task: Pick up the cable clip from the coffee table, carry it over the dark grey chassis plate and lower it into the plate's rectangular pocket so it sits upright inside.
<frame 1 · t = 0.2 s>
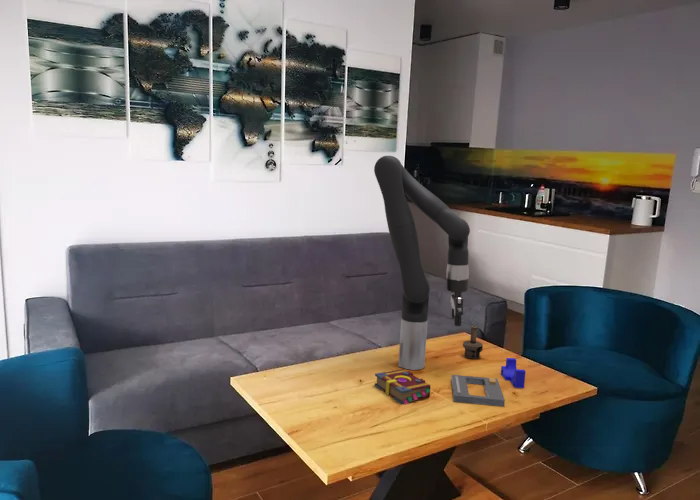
hand: (456, 322, 192), 17 cm above the table, fingers open, 8 cm apart
chassis: (476, 392, 176), on the table
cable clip: (511, 381, 187), on the table
decorative book: (402, 393, 174), on the table
industrial component: (470, 356, 209), on the table
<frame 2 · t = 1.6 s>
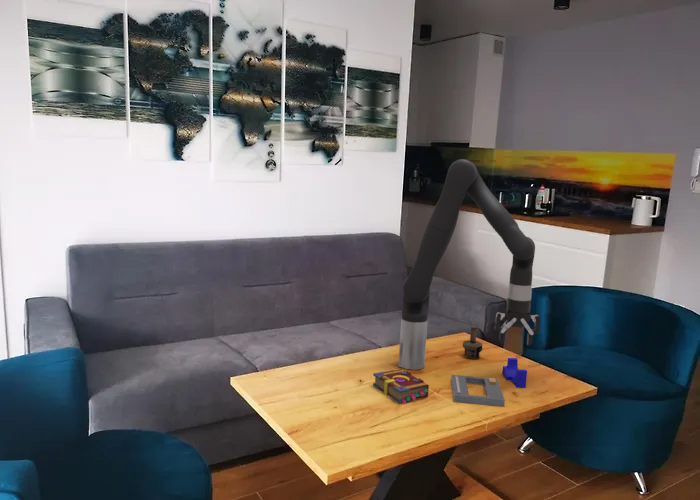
hand: (515, 343, 185), 13 cm above the table, fingers open, 8 cm apart
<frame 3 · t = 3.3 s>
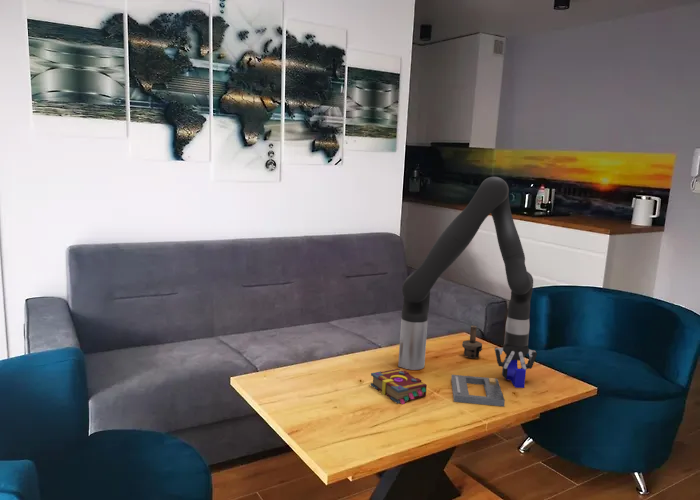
hand: (513, 378, 187), 1 cm above the table, fingers closed on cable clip, 4 cm apart
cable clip: (512, 380, 187), on the table, touching gripper
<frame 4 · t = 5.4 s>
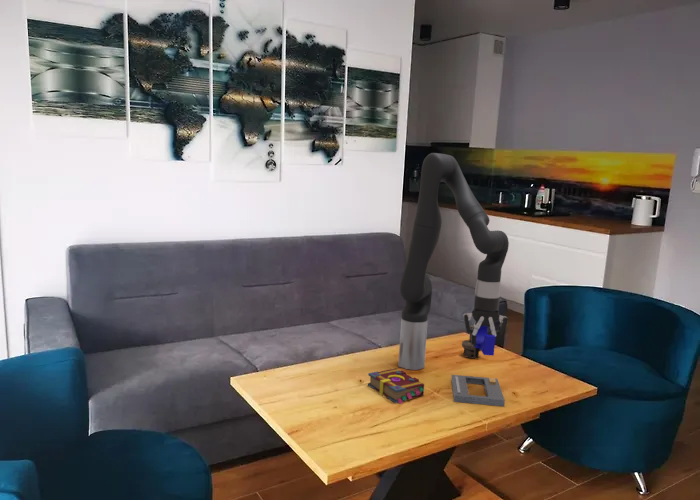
hand: (482, 346, 174), 15 cm above the table, fingers closed on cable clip, 4 cm apart
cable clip: (481, 348, 175), point 14 cm above the table, touching gripper
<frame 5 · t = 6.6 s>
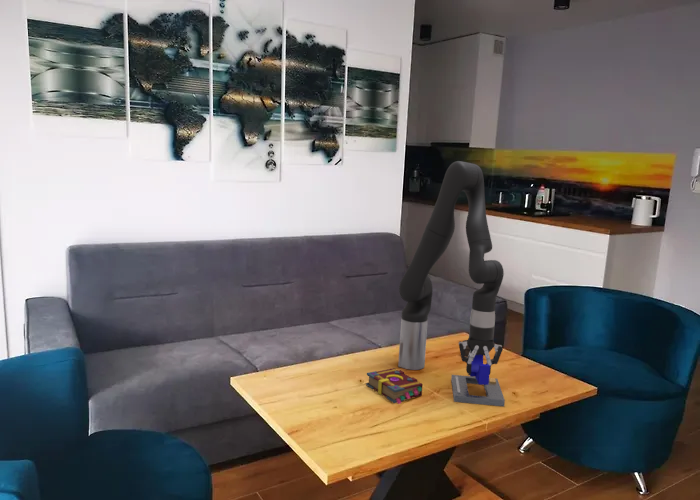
hand: (478, 374, 175), 6 cm above the table, fingers closed on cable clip, 4 cm apart
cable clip: (477, 377, 175), point 5 cm above the table, touching gripper
when the fingers open (3 cm above the table, at t = 7.6 s): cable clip drops 2 cm, resting in chassis.
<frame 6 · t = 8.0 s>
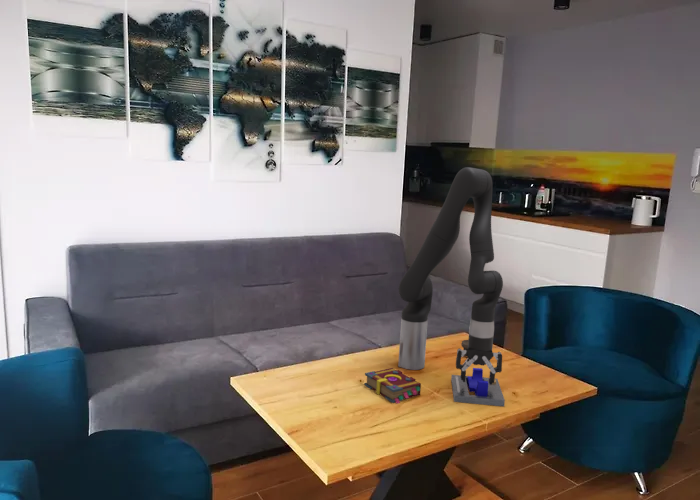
hand: (477, 382, 175), 3 cm above the table, fingers open, 8 cm apart
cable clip: (476, 393, 176), resting in chassis
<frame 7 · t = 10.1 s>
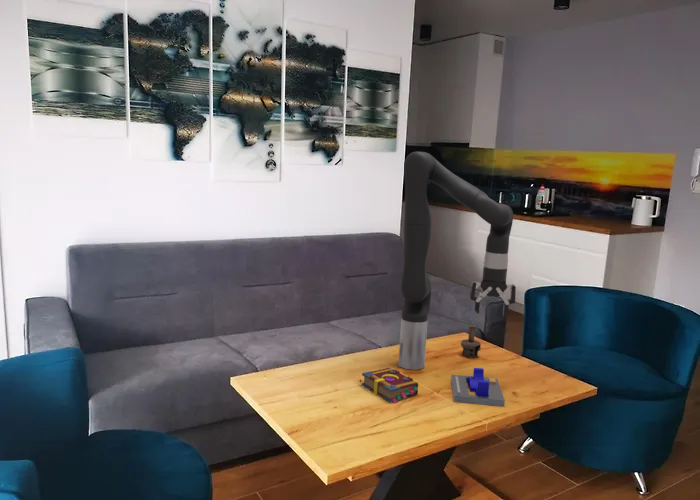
hand: (490, 314, 181), 23 cm above the table, fingers open, 8 cm apart
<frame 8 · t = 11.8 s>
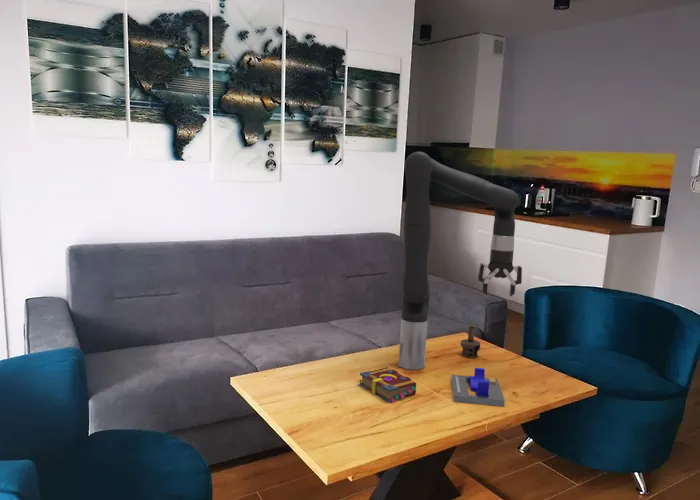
hand: (498, 294, 189), 28 cm above the table, fingers open, 8 cm apart
at the end: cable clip 1.0 cm off-centre on the chassis, point 0.0 cm above the chassis's base; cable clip tilted 0°; the gripper is holding nothing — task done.
